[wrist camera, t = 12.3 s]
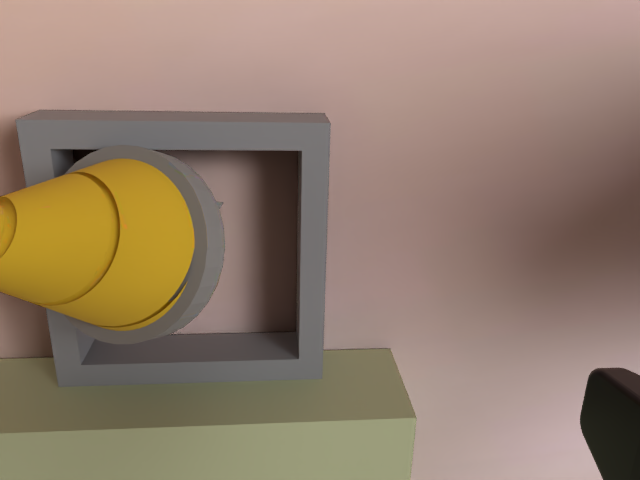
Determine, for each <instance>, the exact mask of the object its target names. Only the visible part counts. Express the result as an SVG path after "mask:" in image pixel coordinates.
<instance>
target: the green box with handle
mask: <svg viewBox="0 0 640 480" xmlns="http://www.w3.org/2000/svg"><path fill="white" fill-rule="evenodd" d="M330 125H331V123H330V121H329V120H328V118H327V117H326V115H325V113H253V112H172V111H91V110H38V111H35V112H33V113H31V114H28V115H26V116H23V117H21V118H18V119H16V126H17V132H18V139H19V145H20V151H21V157H22V163H23V170H24V176H25V182H26V188H27V187H30V186H33V185H36V184H39V183H42V182H45V181H48V180H51V179H54V178H57V177H60V176H62V175H64V174H65V173H66V172H67V171H68V170H69V169H70V168H71V167H72V166H73V165H74V160H73V153H72V149H102V148H105V147H110V146H117V145H129V146H139V147H143V148H146V149H150V150H280V151H299V152H298V231H297V311H296V332H269V333H225V334H182V335H166V336H162V337H158V338H154V339H150V340H146V341H143V342H139V343H135V344H112V343H107V342H102V341H99V340H97V339H95V338H93V337H90V336H88V335H86V334H84V333H83V332H82V331H80V330H79V329H78V328H76V327H75V326H74V325H72V324H71V323H70V322H69V320H68V319H67V318H66V317H65V316H64V315H63V314H62V313H59V312H56V311H53V310H51V309H48V308H46V313H47V319H48V325H49V332H50V338H51V344H52V350H53V356H54V357H49V358H10V359H0V480H410V477H411V467H412V457H413V448H414V438H415V428H416V419H417V418H416V415H415V412H414V410H413V407H412V405H411V402H410V399H409V397H408V394H407V391H406V389H405V386H404V384H403V381H402V378H401V376H400V373H399V370H398V368H397V365H396V363H395V360H394V357H393V355H392V352H391V349H356V350H323V344H324V312H325V281H326V250H327V218H328V187H329V156H330Z"/></svg>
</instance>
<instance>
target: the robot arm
mask: <svg viewBox="0 0 640 480" xmlns="http://www.w3.org/2000/svg"><path fill="white" fill-rule="evenodd" d="M580 424H581V429H582V433H583V436H584V438H585V440H586V442H587V445H588V447H589V449H590V451H591V453H592V456H593V458H594V460H595V462H596V465H597V467H598V469H599V471H600V473H601V476H602V478H603V480H640V375H638V374H636V373H633V372H631V371H629V370H627V369H624V368H597V369H595V370H593V371H592V372H591V373H590V375H589V378H588V381H587V386H586V391H585V396H584V400H583V405H582V410H581V415H580Z"/></svg>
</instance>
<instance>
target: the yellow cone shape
mask: <svg viewBox="0 0 640 480" xmlns="http://www.w3.org/2000/svg"><path fill="white" fill-rule="evenodd" d="M222 204H223V202H216V201H215V199H214V197H213V194H212V192H211V191H210V189H209V188H208V186H207V185H206V184H205V182H204V181H203V179H202V178H201V177H200V176H199V175H198V174H197V173H196V172H195V171H194V170H193V169H192V168H191V167H190V166H188V165H187V164H185V163H184V162H182V161H180V160H179V159H177V158H175V157H173V156H170V155H167V154H164V153H161V152H158V151H154V150H150V149H146V148H143V147H139V146H129V145H117V146H110V147H105V148H102V149H100V150H97V151H94V152H92V153H90V154H88V155H87V156H85V157H84V158H82V159H81V160H79V161H77V162H76V163H75V164H74V165H73V166H72V167H71V168H70V169H69V170H68V171H67V172H66V173H65V174H64V175H62V176H60V177H57V178H54V179H51V180H48V181H45V182H42V183H39V184H36V185H33V186H30V187H27V188H24V189H21V190H18V191H15V192H13V193H10V194H7V195H4V196H1V197H0V292H2V293H5V294H8V295H11V296H14V297H17V298H19V299H22V300H25V301H28V302H31V303H34V304H36V305H39V306H42V307H45V308H48V309H51V310H53V311H56V312H59V313H62V314H63V315H64V316H65V317H66V318H67V319H68V320H69V322H70V323H71V324H72V325H74V326H75V327H76V328H78V329H79V330H80V331H82V332H83V333H84V334H86V335H88V336H90V337H93V338H95V339H97V340H99V341H102V342H107V343H112V344H135V343H139V342H143V341H146V340H150V339H154V338H158V337H162V336H166V335H169V334H171V333H173V332H175V331H177V330H179V329H181V328H183V327H185V326H186V325H187V324H188V323H189V322H190V321H192V320H193V319H194V318H195V317H196V316H198V314H199V313H200V312H201V311H202V309H203V308H204V307H205V305H206V304H207V303H208V302H209V300H210V298H211V296H212V294H213V292H214V290H215V288H216V286H217V284H218V281H219V277H220V274H221V271H222V267H223V260H224V251H225V240H224V227H223V223H222V219H221V215H220V211H219V209H220V207H221V206H222Z"/></svg>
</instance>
